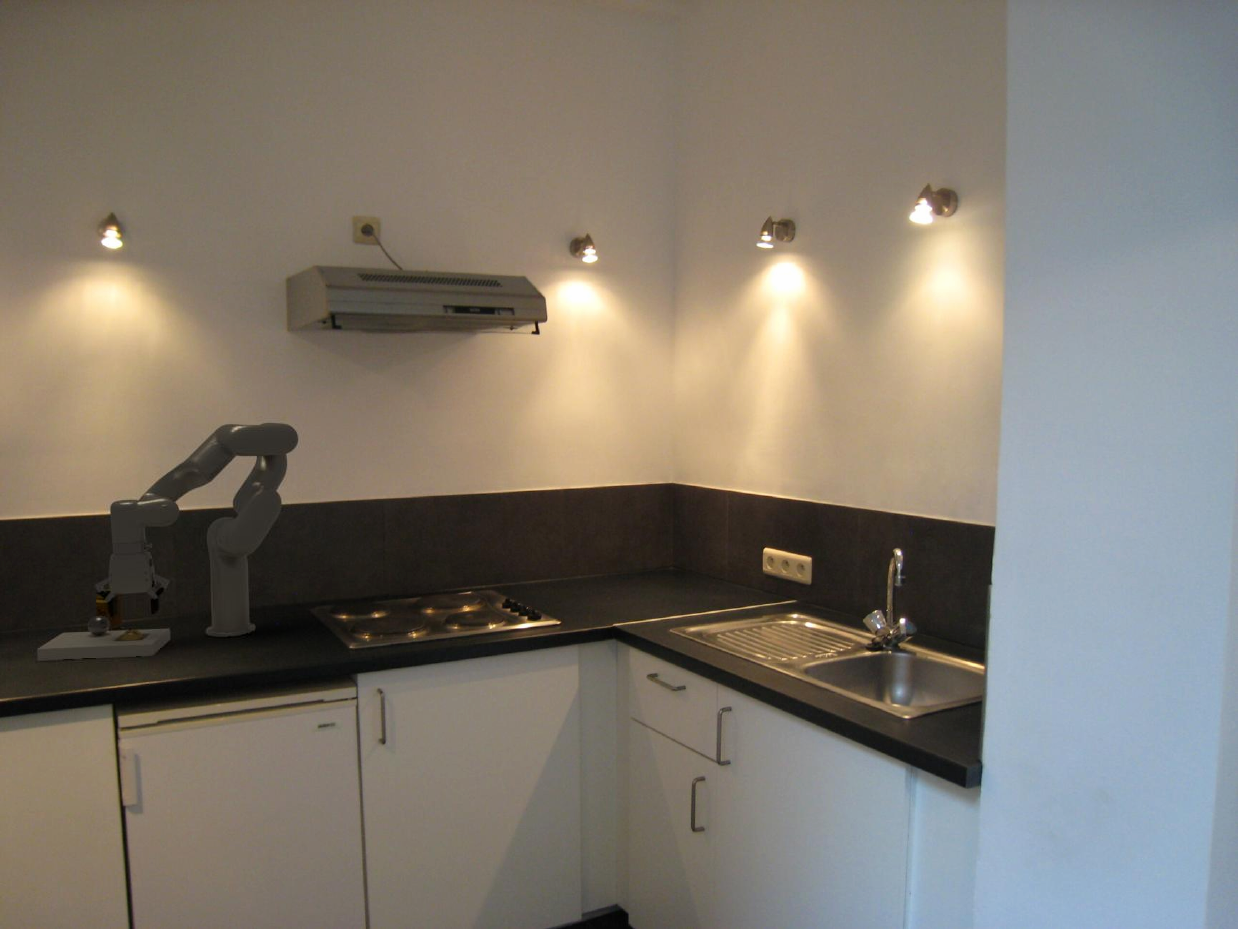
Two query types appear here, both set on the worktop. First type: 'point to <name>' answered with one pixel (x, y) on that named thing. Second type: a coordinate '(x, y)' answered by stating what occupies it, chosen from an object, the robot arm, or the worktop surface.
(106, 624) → the steel ball
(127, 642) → the hole plate
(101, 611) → the condiment
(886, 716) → the worktop surface
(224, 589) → the robot arm
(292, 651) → the worktop surface
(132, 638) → the brass ball
